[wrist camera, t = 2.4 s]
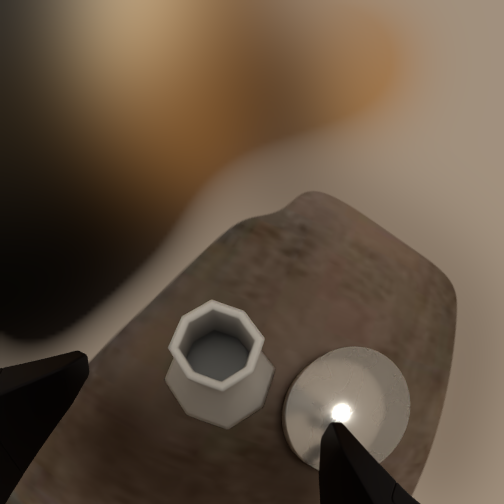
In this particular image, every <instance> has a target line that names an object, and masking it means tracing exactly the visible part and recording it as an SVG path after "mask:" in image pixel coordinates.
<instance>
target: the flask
mask: <svg viewBox="0 0 504 504" xmlns="http://www.w3.org/2000/svg"><path fill="white" fill-rule="evenodd" d="M264 340H265V338H264V337H263V336H262V334H261V333H260V332H259V330H258V329H257V328H256V326H255V325H254V323H253V322H252V321H251V319H250V318H249V317H248V315H247V314H246V313H245V311H243V310H240V309H237V308H234V307H231V306H228V305H226V304H223V303H220V302H217V301H214V300H210V301H208V302H207V303H205V304H203V305H201V306H199V307H198V308H196V309H194V310H192V311H191V312H189V313H187V314H185V315H184V316H182V317H181V320H180V322H179V324H178V326H177V329H176V331H175V333H174V335H173V338H172V340H171V342H170V345H169V347H168V348H169V350H170V352H171V353H172V355H173V357H174V358H173V360H172V362H171V365H170V367H169V370H168V372H167V374H166V377H165V379H164V380H165V382H166V384H167V385H168V387H169V388H170V390H171V392H172V393H173V395H174V396H175V398H176V400H177V401H178V403H179V404H180V406H181V407H182V409H183V410H184V412H185V413H186V415H188V416H191V417H193V418H196V419H198V420H201V421H204V422H207V423H209V424H212V425H215V426H218V427H221V428H224V429H227V430H228V429H230V428H232V427H233V426H235V425H236V424H238V423H240V422H241V421H243V420H244V419H246V418H248V417H249V416H251V415H252V414H254V413H255V412H257V411H258V410H260V409H261V408H263V407H264V404H265V401H266V398H267V395H268V391H269V388H270V385H271V382H272V379H273V376H274V373H275V368H274V366H273V365H272V364H271V362H270V361H269V360H268V358H267V357H266V356H265V354H264V353H263V352H262V350H261V349H262V346H263V343H264Z"/></svg>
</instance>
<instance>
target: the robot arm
mask: <svg viewBox="0 0 504 504" xmlns="http://www.w3.org/2000/svg"><path fill="white" fill-rule="evenodd" d="M88 375H89V365H88V357H87V355H86V354H84V353H82V352H80V351H73V352H70V353H66V354H61V355H58V356H53V357H49V358H45V359H41V360H37V361H32V362H28V363H24V364H19V365H15V366H10V367H5V368H0V504H5V503H6V502H7V500H8V498H9V497H10V495H11V493H12V492H13V490H14V489H15V487H16V485H17V484H18V482H19V481H20V479H21V477H22V476H23V474H24V473H25V471H26V469H27V468H28V466H29V465H30V463H31V462H32V460H33V459H34V457H35V456H36V454H37V453H38V451H39V450H40V448H41V447H42V446H43V444H44V443H45V441H46V440H47V438H48V437H49V435H50V434H51V433H52V431H53V430H54V428H55V427H56V426H57V424H58V423H59V421H60V420H61V419H62V417H63V416H64V415H65V413H66V412H67V410H68V409H69V408H70V406H71V405H72V403H73V402H74V400H75V398H76V396H77V395H78V393H79V391H80V389H81V388H82V386H83V384H84V382H85V381H86V379H87V377H88ZM319 488H320V504H420V503H419V502H418V501H416V500H415V499H414V498H413V497H412V496H411V495H410V494H408V493H407V492H406V491H405V490H404V489H403V488H402V487H401V486H400V485H399V484H398V483H397V482H396V481H395V480H394V479H393V478H392V476H391V475H390V474H389V473H388V472H387V471H386V470H385V469H384V468H383V467H382V466H381V465H380V464H379V463H378V462H377V461H376V459H375V458H374V457H373V456H372V455H371V454H370V453H369V452H368V451H367V450H366V449H365V448H364V446H363V445H362V444H361V443H360V442H359V441H358V440H357V439H356V438H355V436H354V435H353V434H352V433H351V432H350V431H349V430H348V429H347V427H346V426H345V425H344V424H343V423H341V422H331V423H330V424H329V425H328V427H327V429H326V430H325V432H324V433H323V435H322V437H321V444H320V463H319Z"/></svg>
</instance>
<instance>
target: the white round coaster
mask: <svg viewBox="0 0 504 504" xmlns="http://www.w3.org/2000/svg"><path fill="white" fill-rule="evenodd" d="M409 414H410V396H409V391H408V387H407V384H406V381H405V379H404V377H403V375H402V373H401V372H400V370H399V369H398V367H397V366H396V365H395V364H394V363H393V362H392V361H391V360H390V359H389V358H387V357H386V356H385V355H383V354H381V353H379V352H377V351H375V350H372V349H369V348H364V347H345V348H340V349H336V350H333V351H331V352H329V353H327V354H325V355H323V356H321V357H320V358H318V359H316V360H315V361H313V362H312V363H310V364H309V365H308V366H306V367H305V368H304V369H303V370H302V371H301V372H300V373H299V374H298V375H297V377H296V378H295V379H294V381H293V382H292V384H291V386H290V387H289V389H288V391H287V394H286V396H285V400H284V403H283V409H282V427H283V432H284V435H285V438H286V441H287V443H288V445H289V447H290V448H291V450H292V451H293V452H294V453H295V455H296V456H297V457H298V458H299V459H301V460H302V461H303V462H304V463H306V464H308V465H310V466H312V467H313V468H315V469H317V470H319V463H320V444H321V437H322V435H323V433H324V432H325V430H326V429H327V427H328V425H329V424H330V423H331V422H341V423H343V424H344V425H345V426H346V427H347V429H348V430H349V431H350V432H351V433H352V434H353V435H354V436H355V438H356V439H357V440H358V441H359V442H360V443H361V444H362V445H363V446H364V448H365V449H366V450H367V451H368V452H369V453H370V454H371V455H372V456H373V457H374V458H375V459H376V461H377V462H378V463H380V462H381V461H383V460H384V459H385V458H386V457H387V456H389V454H390V453H391V452H392V451H393V450H394V449H395V447H396V446H397V445H398V443H399V442H400V440H401V438H402V436H403V434H404V432H405V429H406V427H407V423H408V420H409Z"/></svg>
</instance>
